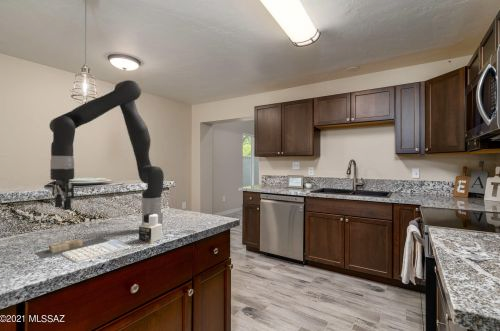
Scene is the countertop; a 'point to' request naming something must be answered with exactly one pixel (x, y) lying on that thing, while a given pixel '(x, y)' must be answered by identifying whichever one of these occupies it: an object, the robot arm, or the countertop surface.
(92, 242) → the mat
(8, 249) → the countertop surface
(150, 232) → the medicine bottle
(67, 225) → the countertop surface
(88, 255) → the calculator
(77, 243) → the domino
